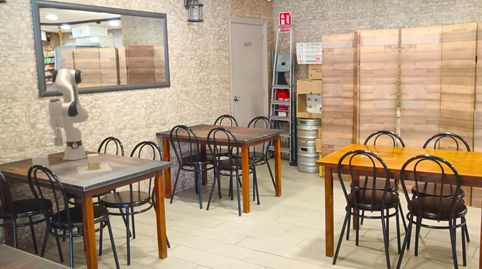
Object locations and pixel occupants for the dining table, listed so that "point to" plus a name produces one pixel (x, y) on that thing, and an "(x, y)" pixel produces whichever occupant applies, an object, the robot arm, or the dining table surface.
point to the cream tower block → (93, 158)
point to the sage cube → (57, 142)
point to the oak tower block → (93, 166)
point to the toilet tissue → (40, 161)
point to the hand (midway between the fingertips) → (58, 143)
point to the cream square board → (85, 170)
